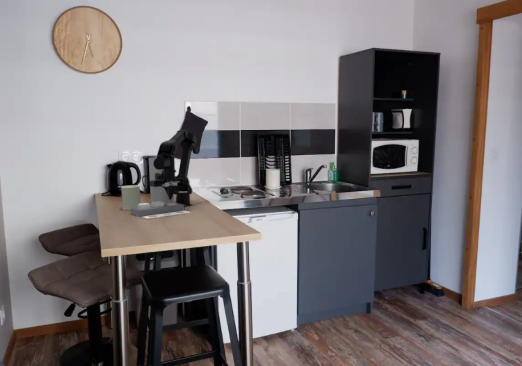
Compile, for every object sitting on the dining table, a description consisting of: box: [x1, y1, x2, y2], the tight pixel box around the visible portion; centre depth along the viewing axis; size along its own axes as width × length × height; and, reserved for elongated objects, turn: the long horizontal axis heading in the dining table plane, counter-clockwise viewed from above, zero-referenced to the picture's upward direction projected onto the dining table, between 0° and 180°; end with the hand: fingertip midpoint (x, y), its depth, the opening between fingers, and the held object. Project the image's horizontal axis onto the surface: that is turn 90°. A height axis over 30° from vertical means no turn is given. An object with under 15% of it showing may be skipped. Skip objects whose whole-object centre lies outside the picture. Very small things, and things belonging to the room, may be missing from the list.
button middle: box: [150, 201, 164, 208], centre depth 214 cm, size 4×4×2 cm
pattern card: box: [142, 210, 191, 220], centre depth 207 cm, size 22×6×1 cm, turn 129°
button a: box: [138, 202, 151, 209], centre depth 210 cm, size 4×4×2 cm
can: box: [121, 184, 141, 211], centre depth 227 cm, size 9×9×12 cm
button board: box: [130, 201, 185, 218], centre depth 215 cm, size 23×10×3 cm, turn 129°
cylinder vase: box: [148, 156, 175, 204], centre depth 240 cm, size 12×12×25 cm
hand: (170, 199), depth 218 cm, fingers closed
